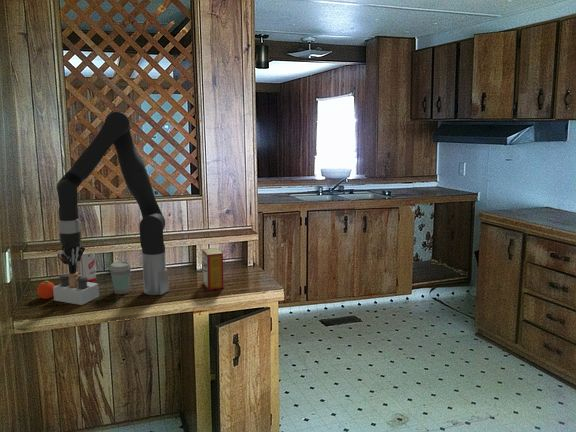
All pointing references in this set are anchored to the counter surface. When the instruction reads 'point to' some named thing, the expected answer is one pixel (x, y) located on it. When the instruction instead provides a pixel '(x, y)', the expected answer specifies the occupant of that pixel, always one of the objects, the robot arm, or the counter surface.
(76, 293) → the block
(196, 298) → the counter surface
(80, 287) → the black plug
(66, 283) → the black plug
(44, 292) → the clementine
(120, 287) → the coffee cup
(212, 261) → the baking soda box
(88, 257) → the white red carton
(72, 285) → the terracotta plug
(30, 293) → the counter surface
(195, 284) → the counter surface
